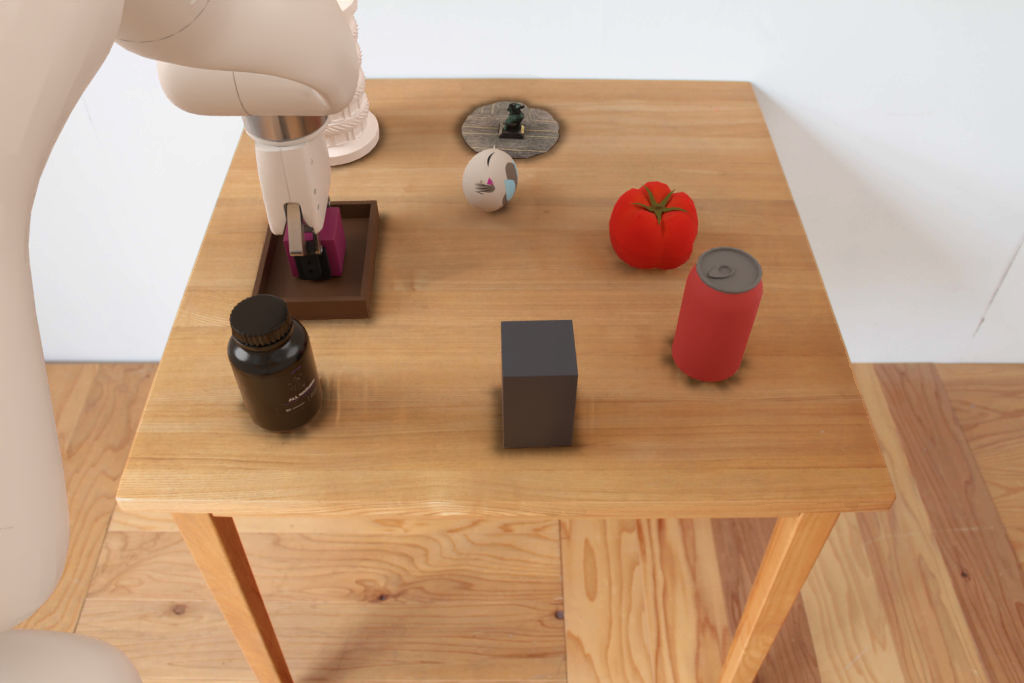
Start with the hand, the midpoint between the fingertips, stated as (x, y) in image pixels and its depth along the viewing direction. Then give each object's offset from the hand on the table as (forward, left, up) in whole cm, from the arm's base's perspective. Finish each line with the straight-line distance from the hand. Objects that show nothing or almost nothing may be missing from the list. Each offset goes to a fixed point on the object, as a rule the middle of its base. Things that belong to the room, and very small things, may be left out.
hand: (319, 257), depth 89 cm
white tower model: (+19, +13, -2) cm, 23 cm away
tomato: (+18, -30, -2) cm, 35 cm away
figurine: (+17, -11, -2) cm, 20 cm away
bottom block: (-7, -29, -1) cm, 30 cm away
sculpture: (+31, -6, -2) cm, 32 cm away
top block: (0, 0, 0) cm, 0 cm away
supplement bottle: (-16, -8, -2) cm, 18 cm away
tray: (0, 0, -1) cm, 1 cm away
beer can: (+7, -40, -2) cm, 41 cm away
